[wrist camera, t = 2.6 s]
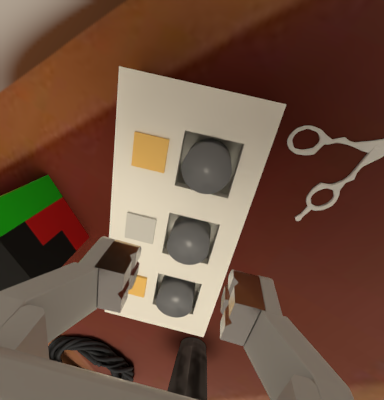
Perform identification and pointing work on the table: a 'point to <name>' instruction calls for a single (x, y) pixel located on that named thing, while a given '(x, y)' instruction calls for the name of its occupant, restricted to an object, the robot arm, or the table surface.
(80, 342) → the cable
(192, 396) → the beverage cup
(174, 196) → the button panel
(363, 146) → the scissors
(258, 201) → the table surface
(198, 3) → the table surface
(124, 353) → the table surface
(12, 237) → the puzzle toy
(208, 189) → the button
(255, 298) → the robot arm
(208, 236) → the button middle
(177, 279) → the button
